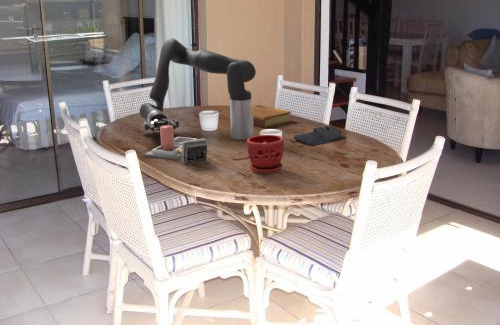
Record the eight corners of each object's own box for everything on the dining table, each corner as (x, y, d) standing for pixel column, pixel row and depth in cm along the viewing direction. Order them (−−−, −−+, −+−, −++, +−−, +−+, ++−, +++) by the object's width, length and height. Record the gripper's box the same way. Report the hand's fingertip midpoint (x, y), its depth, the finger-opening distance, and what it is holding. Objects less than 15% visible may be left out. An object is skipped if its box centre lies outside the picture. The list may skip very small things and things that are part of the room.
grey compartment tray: (203, 143, 242) (203, 138, 242) (176, 159, 221) (176, 153, 220) (174, 141, 247) (174, 135, 247) (145, 156, 226) (144, 150, 225)
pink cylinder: (176, 150, 230) (175, 125, 227) (170, 153, 226) (169, 128, 223) (165, 149, 232) (163, 125, 229) (159, 152, 227) (157, 127, 225)
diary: (231, 121, 283) (230, 110, 282) (258, 115, 296) (258, 104, 294) (263, 129, 267) (263, 117, 266) (291, 122, 279) (291, 111, 278)
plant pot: (281, 164, 214) (281, 133, 210) (285, 175, 201) (285, 142, 197) (246, 165, 213) (246, 134, 210) (248, 176, 201) (247, 143, 197)
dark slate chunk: (288, 140, 247) (288, 129, 246) (325, 132, 260) (325, 122, 259) (312, 148, 236) (312, 136, 234) (349, 139, 248) (350, 128, 247)
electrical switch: (205, 159, 221) (204, 136, 218) (209, 164, 217) (209, 141, 213) (181, 162, 218) (181, 139, 214) (185, 167, 213) (185, 144, 210)
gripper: (140, 112, 244) (145, 120, 229) (173, 110, 248) (180, 117, 233) (141, 129, 246) (147, 139, 231) (174, 126, 250) (181, 135, 236)
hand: (164, 128), depth 232 cm, fingers open, 8 cm apart
